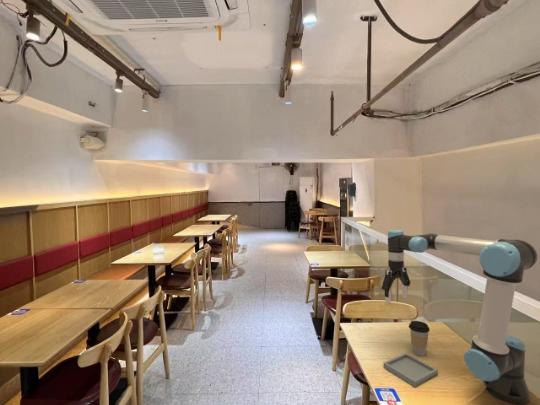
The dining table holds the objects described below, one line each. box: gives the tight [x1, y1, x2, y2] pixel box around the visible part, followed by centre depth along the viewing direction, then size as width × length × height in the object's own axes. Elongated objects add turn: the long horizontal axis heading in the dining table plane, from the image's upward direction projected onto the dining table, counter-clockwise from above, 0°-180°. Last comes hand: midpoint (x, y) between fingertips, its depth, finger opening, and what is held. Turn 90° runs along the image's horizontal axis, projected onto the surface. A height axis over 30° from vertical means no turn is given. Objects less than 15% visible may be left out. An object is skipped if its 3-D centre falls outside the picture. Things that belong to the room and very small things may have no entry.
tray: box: [382, 352, 439, 388], centre depth 135 cm, size 16×16×2 cm
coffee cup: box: [408, 320, 431, 358], centre depth 149 cm, size 9×9×15 cm
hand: (396, 300), depth 155 cm, fingers open, 13 cm apart
